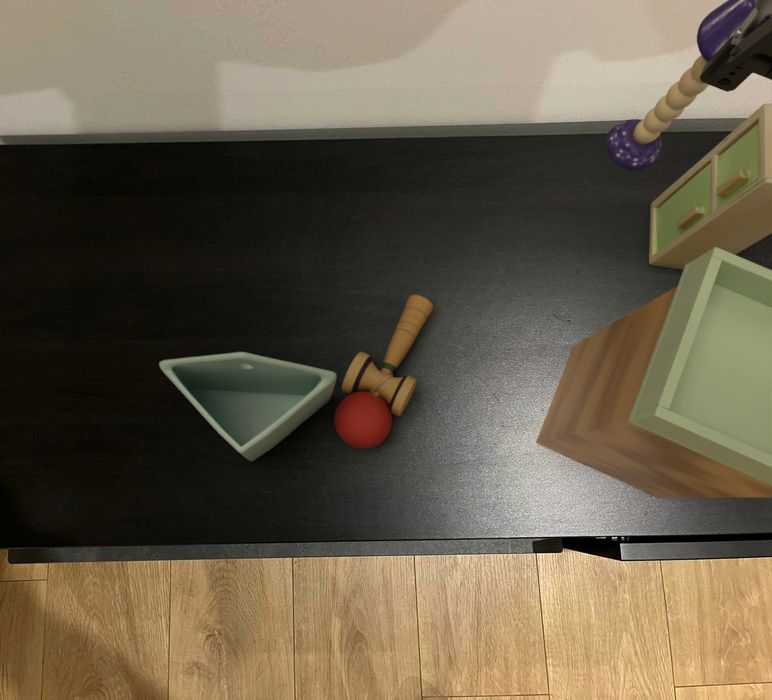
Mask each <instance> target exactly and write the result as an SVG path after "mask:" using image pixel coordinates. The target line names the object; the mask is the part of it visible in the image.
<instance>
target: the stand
mask: <svg viewBox="0 0 772 700" xmlns="http://www.w3.org/2000/svg"><path fill="white" fill-rule="evenodd" d="M676 289H677V286H675V287H673V288H671V289H670V290H668V291H666V292H664V293H663V294H661V295H659V296H658V297H656V298H654V299H652V300H650V301H648V302H647V303H646V304H644V305H642V306H640V307H638V308H637V309H635V310H633V311H631V312H630V313H628V314H626V315H624V316H622V317H621V318H619V319H617V320H616V321H613V322H612V323H611V324H610V323H609V325H607V326H605V327H603V328H602V329H600V330H598V331H596V332H595V333H593V334H591V335H589V336H587V337H586V338H584V339H582V340H581V341H579V342H576V343H575V344H574V345H573V347H572V349H571V351H570V354H569V357H568V360H567V362H566V365H565V367H564V369H563V372H562V375H561V376H560V380H559V382H558V385H557V386H556V387H557V388H556V390H555V393H554V395H553V398H552V400H551V403H550V406H549V408H548V410H547V413H546V415H545V418H544V420H543V423H542V426H541V428H540V431H539V433H538V436H537V438H536V441H535V443H536V444H538V445H540V446H543V447H545V448H547V449H549V450H552V451H553V452H556V453H558V454H559V455H563V456H564V457H567V458H569V459H570V460H571V459H572V460H573V461H576V462H578V463H580V464H582V465H584V466H587V467H589V468H591V469H593V470H595V471H597V472H600V473H602V474H605V475H606V476H608V477H611V478H613V479H615V480H617V481H620V482H621V483H624V484H626V485H628V486H631V487H633V488H635V489H637V490H639V491H642V492H643V493H646V494H648V495H650V496H653V497H655V498H657V499H694V498H695V499H698V498H699V499H700V498H701V499H705V498H708V499H711V498H713V499H714V498H715V499H718V498H719V499H720V498H721V499H722V498H723V499H724V498H729V499H730V498H731V499H732V498H738V499H739V498H772V486H771V485H768V484H766V483H764V482H762V481H759V480H757V479H755V478H753V477H750V476H748V475H746V474H744V473H741V472H739V471H737V470H735V469H733V468H730V467H728V466H726V465H724V464H721V463H719V462H717V461H715V460H712V459H710V458H708V457H706V456H703V455H701V454H699V453H697V452H694V451H692V450H690V449H688V448H685V447H683V446H681V445H679V444H676V443H674V442H672V441H670V440H668V439H665V438H663V437H661V436H659V435H656V434H654V433H652V432H650V431H647V430H645V429H643V428H641V427H638V426H636V425H634V424H632V423H629V422H628V420H629V417H630V414H631V412H632V409H633V406H634V404H635V401H636V398H637V395H638V393H639V390H640V387H641V384H642V382H643V379H644V376H645V374H646V371H647V368H648V365H649V363H650V360H651V357H652V354H653V352H654V349H655V346H656V344H657V341H658V338H659V335H660V333H661V330H662V327H663V324H664V322H665V319H666V316H667V314H668V311H669V308H670V305H671V303H672V300H673V297H674V294H675V292H676Z"/></svg>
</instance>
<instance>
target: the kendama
mask: <svg viewBox="0 0 772 700" xmlns="http://www.w3.org/2000/svg"><path fill="white" fill-rule="evenodd" d="M403 308H404V309H403V310H402V314H401V315H400V318H399V320H398V323H397V325H396V328H395V330H394V332H393V334H392V337H391V339H390V342H389V344H388V347H387V350H386V353H385V356H384V358H383V361H382V362H383V363H382V366H381V368H380V370H379V368H378V367H377V366H376V365H375V363H374V361H373V358H372V356H371V355H370V354H368V353H366V352H364V351H359V352H358V353H357V354H356V355H355V356H354V358H353V360H352V361H351V363H350V365H349V366H348V369H347V371H346V373H345V376H344V378H343V380H342V385H341V391H342V392H343V393H345V394H347V396H346V397H344V398H343V399H342V400H341V401H340V402H339V403H338V405H337V407H336V410H335V413H334V427H335V430H336V433H337V435H338V437H340V439H341V440H342V441H343V442H345V443H346V445H347V444H348V445H349V446H351V447H352V448H357V449H361V450H362V449H363V450H364V449H365V450H366V449H372V448H374V447H377V446H379V445H380V444H382V443H383V442H384V441H385V440H386V438H387V437H388V435H389V434H390V432H391V428H392V426H393V425H392V424H393V417H392V416H393V415H394V416H397V417H400V416H402V414H403V413H404V411H405V410H406V407H407V406H408V403H409V401H410V399H411V397H412V395H413V394H414V390H415V388H416V386H417V383H418V380H417V379H416V378H415V377H413V376H411V375H406V376H405V375H404V376H401V377H400V376H399V377H395V376H394V375H393V374H394V373H395V372H396V370H397V369H398V368H399V366H400V365H401V363H402V362H403V360H404V358H405V357H406V355H407V354H408V353H409V351H410V349H411V347H412V345H413V344H414V342H415V340H416V338H417V337H418V335H419V333H420V331H421V330H422V328H423V326H424V325H425V323H426V321H427V319H428V318H429V316H430V314H431V313H432V311H433V309H434V305H433V303H432V302H431V300H430V299H428V298H426V297H424V296H421V295H419V294H410V295H409V296H408V298H407V300H406V303H405V306H404V307H403Z"/></svg>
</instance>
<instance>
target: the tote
mask: <svg viewBox="0 0 772 700" xmlns="http://www.w3.org/2000/svg"><path fill="white" fill-rule="evenodd" d="M676 287H677V289H676V292H675V294H674V297H673V300H672V303H671V305H670V308H669V311H668V314H667V316H666V319H665V322H664V324H663V327H662V330H661V333H660V335H659V338H658V341H657V344H656V346H655V349H654V352H653V354H652V357H651V360H650V363H649V365H648V368H647V371H646V374H645V376H644V379H643V382H642V384H641V387H640V390H639V393H638V395H637V398H636V401H635V404H634V406H633V409H632V412H631V414H630V417H629V420H628V422H629V423H632V424H634V425H636V426H638V427H641V428H643V429H645V430H647V431H650V432H652V433H654V434H656V435H659V436H661V437H663V438H665V439H668V440H670V441H672V442H674V443H676V444H679V445H681V446H683V447H685V448H688V449H690V450H692V451H694V452H697V453H699V454H701V455H703V456H706V457H708V458H710V459H712V460H715V461H717V462H719V463H721V464H724V465H726V466H728V467H730V468H733V469H735V470H737V471H739V472H741V473H744V474H746V475H748V476H750V477H753V478H755V479H757V480H759V481H762V482H764V483H766V484H768V485H771V486H772V269H769V268H768V267H766V266H765V267H764V266H763V265H759V264H758V263H756V262H753V261H751V260H748V259H746V258H743V257H741V256H738V255H737V254H735V255H734V254H731V253H729V252H727V251H724V250H722V249H720V248H717V247H714V248H713V249H711V250H709V251H708V252H706V253H704V254H703V255H701V256H700V257H698V258H696V259H695V260H693V261H691V262H690V263H688V264H686V265H685V267H684V270H682V272H681V276H680V278H679V281H678V284H677V286H676Z"/></svg>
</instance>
